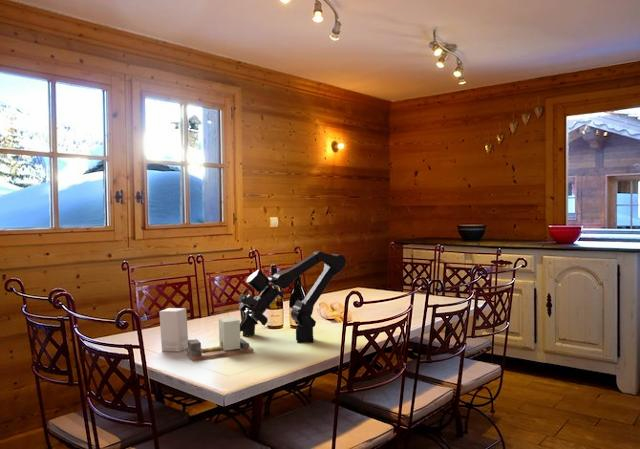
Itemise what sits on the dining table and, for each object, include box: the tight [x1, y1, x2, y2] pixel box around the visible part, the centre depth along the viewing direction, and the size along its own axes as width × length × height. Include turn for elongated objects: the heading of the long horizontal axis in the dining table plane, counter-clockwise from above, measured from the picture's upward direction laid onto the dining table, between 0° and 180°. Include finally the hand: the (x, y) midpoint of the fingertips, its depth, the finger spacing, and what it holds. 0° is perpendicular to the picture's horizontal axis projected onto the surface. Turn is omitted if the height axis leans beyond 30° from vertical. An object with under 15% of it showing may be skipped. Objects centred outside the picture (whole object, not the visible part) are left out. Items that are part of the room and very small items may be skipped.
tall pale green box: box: [218, 316, 241, 351], centre depth 194 cm, size 6×7×10 cm
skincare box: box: [158, 307, 189, 353], centre depth 199 cm, size 8×7×16 cm
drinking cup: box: [238, 287, 256, 337], centre depth 219 cm, size 8×8×20 cm
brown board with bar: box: [186, 337, 254, 362], centre depth 193 cm, size 22×10×6 cm, turn 116°
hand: (238, 331), depth 196 cm, fingers closed
